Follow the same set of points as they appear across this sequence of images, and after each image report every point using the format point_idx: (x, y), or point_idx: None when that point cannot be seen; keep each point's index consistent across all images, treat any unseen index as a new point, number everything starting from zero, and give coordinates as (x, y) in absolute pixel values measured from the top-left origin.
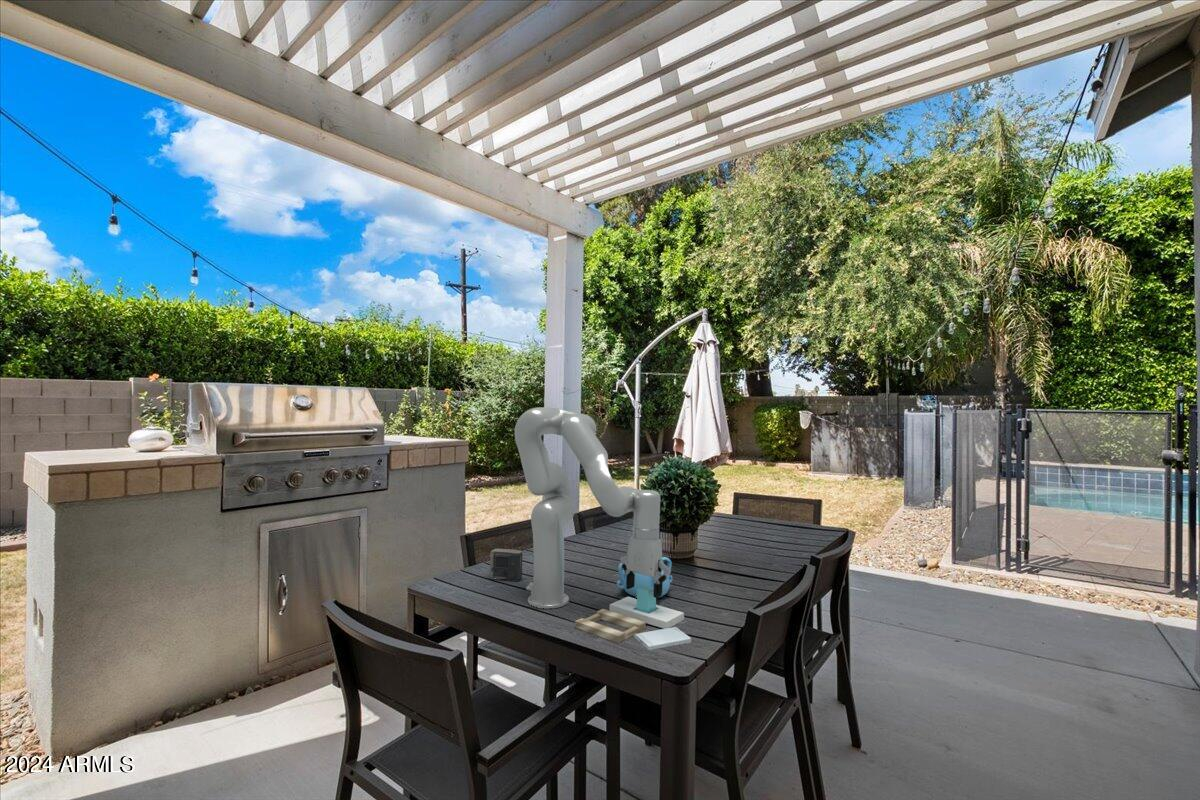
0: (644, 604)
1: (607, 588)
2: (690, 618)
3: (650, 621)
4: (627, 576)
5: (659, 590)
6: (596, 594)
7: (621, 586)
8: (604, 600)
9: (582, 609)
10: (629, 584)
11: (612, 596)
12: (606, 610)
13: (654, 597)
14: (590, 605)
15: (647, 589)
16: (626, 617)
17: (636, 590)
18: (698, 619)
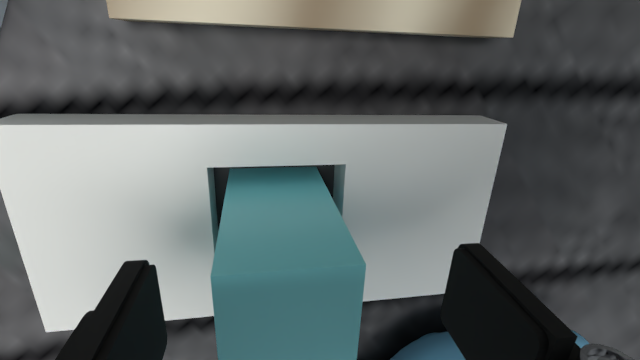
0: (258, 204)
1: (603, 328)
2: (60, 336)
3: (156, 117)
4: (556, 329)
5: (67, 346)
6: (624, 247)
7: None
8: (564, 217)
9: (626, 30)
10: (474, 282)
11: (549, 279)
12: (480, 24)
13: (145, 262)
14: (604, 113)
15: (254, 309)
16: (290, 3)
17: (452, 354)
18: (17, 354)
